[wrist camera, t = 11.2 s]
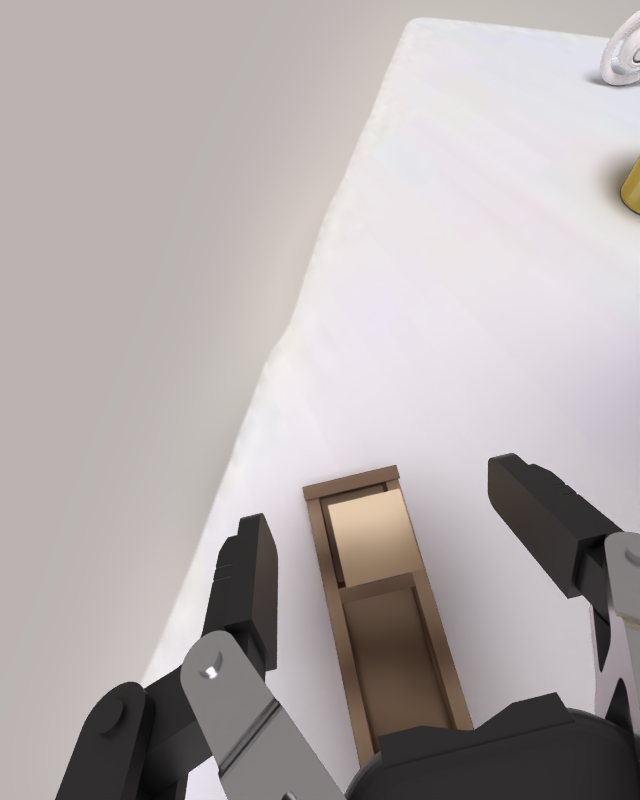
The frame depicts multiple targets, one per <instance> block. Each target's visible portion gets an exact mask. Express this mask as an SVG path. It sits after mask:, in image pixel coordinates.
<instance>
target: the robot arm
mask: <svg viewBox="0 0 640 800" xmlns="http://www.w3.org/2000/svg"><path fill="white" fill-rule="evenodd" d="M488 496H489V499H490V502H491V504H492V506H493V508H494V509H495V511H496V512H497V513H498V514H499V515H500V517H501V518H502V519H503V520H504V522H505V523H506V524H507V525H508V526H509V528H510V529H511V530H512V531H513V532H514V534H515V535H516V536H517V537H518V539H519V540H520V541H521V542H522V543H523V545H524V546H525V547H526V548H527V550H528V551H529V552H530V553H531V554H532V556H533V557H534V558H535V559H536V561H537V562H538V563H539V564H540V565H541V567H542V568H543V569H544V570H545V572H546V573H547V574H548V575H549V576H550V578H551V579H552V580H553V581H554V582H555V584H556V585H557V586H558V587H559V589H560V590H561V591H562V592H563V593H564V595H565V596H566V597H567V598H568V599H569V598H573V597H577V596H581V595H583V596H584V597H585V598H586V599H587V600H588V601H589V602H590V607H589V613H590V623H591V633H592V644H593V654H594V665H595V675H596V692H595V715H594V714H591V713H588V712H585V711H581V710H577V709H573V708H566V707H565V706H564V704H563V702H562V701H561V699H560V697H559V696H558V694H557V693H556V692H555V693H551V694H547V695H543V696H539V697H535V698H531V699H527V700H523V701H519V702H515V703H512V704H510V705H509V706H508V707H506V708H505V709H503V710H502V711H501V712H499V713H498V714H496V715H495V716H494V717H492V718H491V719H490V720H488V721H487V722H485V723H484V724H483V725H481V726H480V727H478V728H477V729H475V730H459V729H450V728H440V727H430V726H418V727H414V728H410V729H406V730H402V731H398V732H394V733H390V734H385V735H381V736H377V737H378V742H379V747H380V752H378V753H377V754H375V755H374V756H373V757H371V758H370V759H369V760H368V761H367V762H366V763H365V764H364V765H363V766H362V768H361V769H360V770H359V771H358V773H357V774H356V775H355V777H354V778H353V780H352V782H351V783H350V785H349V787H348V789H347V790H346V793H345V795H343V794H342V792H341V791H340V789H339V788H338V786H337V785H336V783H335V782H334V780H333V779H332V778H331V776H330V775H329V773H328V772H327V770H326V769H325V767H324V766H323V764H322V763H321V762H320V760H319V759H318V757H317V756H316V754H315V753H314V751H313V750H312V749H311V747H310V746H309V744H308V743H307V741H306V740H305V738H304V737H303V735H302V734H301V733H300V731H299V730H298V728H297V727H296V725H295V724H294V722H293V721H292V719H291V718H290V717H289V715H288V714H287V712H286V711H285V709H284V708H283V707H282V705H281V704H280V703H279V701H277V700H276V699H275V697H274V696H273V695H272V693H271V692H270V690H269V689H268V687H267V686H266V684H265V672H266V671H270V670H274V669H277V604H278V555H277V549H276V545H275V542H274V539H273V537H272V534H271V532H270V529H269V527H268V524H267V521H266V519H265V516H264V514H263V513H260V514H255V515H251V516H247V517H243V518H241V519H240V522H239V528H238V534H237V535H236V536H232V537H228V538H227V540H226V541H225V543H224V545H223V546H222V548H221V550H220V551H219V555H218V560H217V564H216V570H215V574H214V579H213V580H214V582H213V584H212V588H211V593H210V598H209V603H208V608H207V612H206V617H205V622H204V627H203V631H202V635H201V638H200V639H199V640H198V641H197V642H196V643H195V644H194V645H193V646H192V648H191V649H190V650H189V652H188V653H187V655H186V657H185V659H184V662H183V664H182V665H180V666H179V667H178V668H177V669H175V670H174V671H172V672H171V673H169V674H167V675H166V676H164V677H162V678H161V679H159V680H157V681H156V682H154V683H153V684H151V685H149V686H148V687H146V688H144V689H143V687H142V686H141V685H140V684H138V683H136V682H127V683H123V684H120V685H119V686H117V687H115V688H113V689H112V690H111V691H109V692H108V693H107V694H106V695H105V696H103V698H102V699H101V700H100V701H99V702H98V703H97V704H96V705H95V707H94V708H93V709H92V711H91V712H90V714H89V715H88V717H87V719H86V721H85V723H84V725H83V727H82V730H81V732H80V735H79V738H78V740H77V743H76V746H75V748H74V751H73V754H72V756H71V759H70V762H69V764H68V767H67V770H66V772H65V775H64V777H63V780H62V783H61V785H60V788H59V791H58V793H57V796H56V799H55V800H185V794H186V787H187V780H188V773H189V772H190V771H192V770H193V769H194V768H196V767H197V766H198V765H200V764H201V763H203V762H204V761H205V760H207V759H208V758H210V757H211V756H212V755H213V756H214V758H215V760H216V762H217V765H218V768H219V772H218V775H219V779H220V782H221V784H222V787H223V789H224V792H225V794H226V796H227V799H228V800H640V534H637V533H632V532H624V531H623V530H622V529H620V528H619V527H618V526H617V525H615V524H614V523H613V522H612V521H611V520H609V519H608V518H607V517H606V516H605V515H603V514H602V513H601V512H600V511H598V510H597V509H596V508H595V507H594V506H592V505H591V504H590V503H589V502H588V501H586V500H585V499H584V498H583V497H581V496H580V495H579V494H578V495H577V494H576V492H575V491H574V490H573V489H572V488H571V487H569V486H568V485H565V483H564V482H563V481H562V480H561V479H560V478H558V477H557V476H556V475H555V474H554V473H552V472H551V471H549V470H547V469H544V468H542V467H540V466H538V465H536V464H531V465H528V464H527V463H525V462H524V461H523V460H522V459H521V458H520V457H519V456H517V455H516V454H514V453H509V454H505V455H501V456H497V457H493V458H490V459H489V461H488Z"/></svg>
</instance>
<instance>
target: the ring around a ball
mask: <svg viewBox="0 0 640 800" xmlns="http://www.w3.org/2000/svg"><path fill="white" fill-rule="evenodd" d="M639 21H640V10H639V11H638V12H636V13H635V14H634V15H632V16H631V17H630V18H629V19H628V20H627V21H625V22H624V23H623V24H622V25H621V27H620V28H619V29H618V30H617V31H616V33H615V34H614V35H613V36H612V38H611V39H610V41H609V43H608V44H607V46H606V48H605V50H604V53H603V55H602V58H601V63H600V71H601V75H602V78H603V79H604V80H605V81H606V82H607V83H609V84H611V85H626V84H630V83H633V82H635V81H638V80H640V70H639V71H637V72H634V73H631V74H627V75H619V74H616V73H615V72H613V70H612V68H611V64H610V62H611V61H614V60H616V59H619V63H620V65H621V67H622V68H624V69H626V70H634V69H637V68H640V25H639V26H638V27H636V28H635V29H634V30H633V31H632V32H631V33H630V34H629V35H628V36H627V38H626V39H625V40H624V42H623V44H622V46H621V48H620V51H619V55H618V56H616V57H614V58H612V59H611V56H612V53H613V51H614V49H615V47H616V45H617V44H618V42H619V41H620V39H621V38H622V37H623V36H624V35H625V33H626V32H627V31H628V30H629V29H631V28H632V27H633V26H634V25H635V24H636V23H638V22H639Z"/></svg>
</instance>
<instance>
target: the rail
mask: <svg viewBox="0 0 640 800" xmlns="http://www.w3.org/2000/svg"><path fill="white" fill-rule="evenodd" d="M399 478H400V476H399V473H398V470H397V466H396V465H393V466H389V467H385V468H381V469H377V470H372V471H368V472H364V473H360V474H356V475H352V476H347V477H343V478H339V479H335V480H331V481H326V482H322V483H318V484H314V485H310V486H306V487H302V488H303V493H304V498H305V501H306V502H307V507H308V512H309V517H310V521H311V526H312V531H313V536H314V541H315V546H316V551H317V556H318V561H319V566H320V571H321V576H322V581H323V586H324V591H325V596H326V601H327V605H328V610H329V615H330V620H331V625H332V630H333V635H334V640H335V645H336V650H337V655H338V660H339V665H340V670H341V675H342V680H343V685H344V689H345V694H346V699H347V704H348V709H349V714H350V719H351V724H352V729H353V734H354V739H355V744H356V749H357V754H358V759H359V764H360V769H361V768H362V766H363V765H364V764H365V763H366V762H367V761H368V760H369V759H370V758H371V757H373V756H374V755H375V754H377V753H378V752H380V747H379V742H378V737H377V736H381V735H385V734H390V733H394V732H398V731H402V730H406V729H410V728H414V727H418V726H430V727H440V728H450V729H459V730H474V728H473V725H472V722H471V718H470V715H469V712H468V709H467V705H466V702H465V699H464V695H463V692H462V689H461V685H460V682H459V679H458V676H457V672H456V669H455V666H454V662H453V659H452V656H451V652H450V649H449V646H448V643H447V639H446V636H445V633H444V629H443V626H442V623H441V620H440V616H439V613H438V610H437V606H436V603H435V600H434V596H433V593H432V590H431V587H430V583H429V580H428V577H427V573H426V570H425V567H424V563H423V560H422V557H421V554H420V557H421V560H422V563H423V567H424V569H421V570H417V571H413V572H409V574H405V575H401V576H397V577H393V578H389V579H385V580H381V581H377V582H373V583H369V584H365V585H361V586H352V587H348V588H346V584H345V579H344V575H343V570H342V566H341V561H340V557H339V552H338V548H337V544H336V539H335V535H334V530H333V526H332V521H331V517H330V512H329V508H328V506H329V505H333V504H337V503H341V502H346V501H350V500H354V499H358V498H362V497H366V496H370V495H374V494H378V493H383V492H387V491H391V490H395V489H399V488H400V484H399V481H398V479H399ZM400 491H401V488H400ZM401 494H402V491H401ZM402 497H403V494H402ZM403 501H404V498H403ZM404 504H405V501H404ZM405 507H406V504H405ZM406 511H407V507H406ZM407 514H408V511H407ZM408 517H409V514H408ZM409 521H410V517H409ZM410 524H411V521H410ZM411 527H412V524H411ZM412 530H413V527H412ZM413 534H414V530H413ZM414 537H415V534H414ZM415 540H416V537H415ZM416 544H417V540H416ZM417 547H418V544H417ZM418 550H419V547H418ZM419 553H420V550H419Z"/></svg>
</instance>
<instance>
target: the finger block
mask: <svg viewBox="0 0 640 800" xmlns="http://www.w3.org/2000/svg"><path fill="white" fill-rule="evenodd" d="M328 508H329V512H330V517H331V521H332V526H333V530H334V535H335V539H336V544H337V548H338V552H339V557H340V561H341V566H342V570H343V575H344V579H345V584H346V588H348V587H352V586H361V585H365V584H369V583H373V582H377V581H381V580H385V579H389V578H393V577H397V576H401V575H405V574H409V572H413V571H417V570H421V569H424V567H423V563H422V560H421V557H420V553H419V550H418V547H417V544H416V540H415V537H414V534H413V530H412V527H411V524H410V521H409V517H408V514H407V511H406V507H405V504H404V501H403V497H402V494H401V491H400V488H399V489H395V490H391V491H387V492H383V493H378V494H374V495H370V496H366V497H362V498H358V499H354V500H350V501H346V502H341V503H337V504H333V505H329V506H328Z"/></svg>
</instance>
